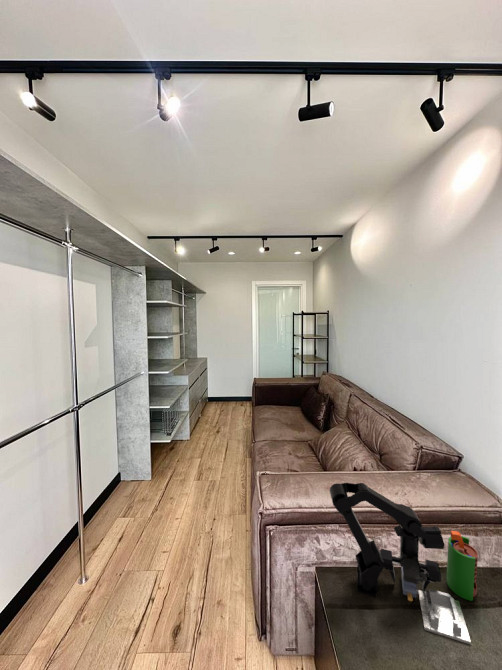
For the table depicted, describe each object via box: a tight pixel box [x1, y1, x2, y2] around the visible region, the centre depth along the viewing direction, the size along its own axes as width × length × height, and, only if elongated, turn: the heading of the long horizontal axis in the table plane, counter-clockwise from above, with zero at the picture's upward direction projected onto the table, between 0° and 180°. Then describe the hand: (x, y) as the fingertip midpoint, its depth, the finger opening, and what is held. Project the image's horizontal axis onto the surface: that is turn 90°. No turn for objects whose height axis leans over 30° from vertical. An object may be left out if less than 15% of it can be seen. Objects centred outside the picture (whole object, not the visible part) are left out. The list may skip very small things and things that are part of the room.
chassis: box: [417, 588, 472, 645], centre depth 97 cm, size 12×13×4 cm
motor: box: [446, 530, 479, 601], centre depth 106 cm, size 10×9×20 cm
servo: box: [400, 566, 418, 602], centre depth 107 cm, size 4×10×5 cm, turn 158°
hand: (408, 585), depth 107 cm, fingers open, 9 cm apart
